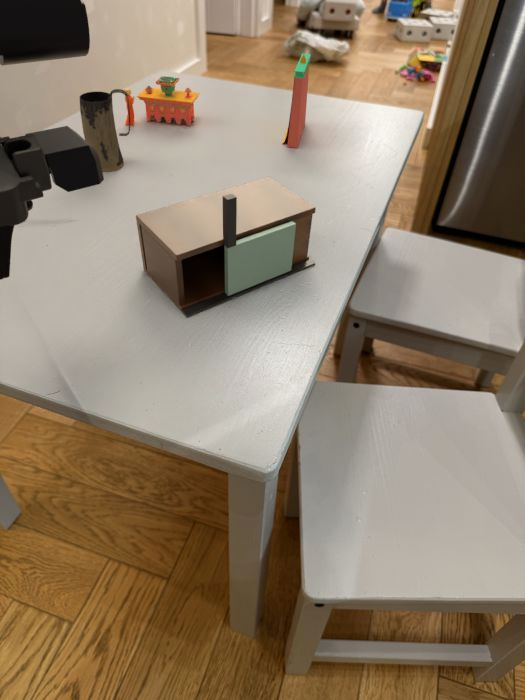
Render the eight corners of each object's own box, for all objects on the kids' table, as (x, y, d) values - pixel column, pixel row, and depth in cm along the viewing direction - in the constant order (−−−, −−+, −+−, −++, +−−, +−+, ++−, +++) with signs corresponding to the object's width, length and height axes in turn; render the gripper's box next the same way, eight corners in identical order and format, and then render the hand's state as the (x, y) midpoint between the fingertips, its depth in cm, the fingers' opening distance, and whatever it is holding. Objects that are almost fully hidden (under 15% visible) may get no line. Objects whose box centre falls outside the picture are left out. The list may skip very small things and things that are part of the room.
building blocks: (297, 148, 95) (305, 65, 85) (122, 127, 98) (109, 45, 88) (305, 123, 104) (312, 46, 94) (143, 105, 107) (134, 29, 97)
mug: (88, 171, 84) (72, 96, 76) (92, 157, 88) (77, 84, 80) (136, 171, 85) (125, 96, 77) (138, 157, 89) (128, 84, 80)
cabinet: (186, 317, 59) (182, 261, 53) (143, 270, 65) (135, 215, 60) (315, 264, 68) (322, 211, 62) (266, 227, 74) (269, 176, 68)
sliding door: (227, 297, 61) (227, 200, 52) (223, 292, 62) (222, 196, 53) (291, 270, 66) (301, 177, 57) (287, 267, 66) (296, 173, 57)
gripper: (-270, 153, 23) (-105, 381, 34) (116, 88, 31) (146, 288, 42) (-269, 82, 29) (-130, 294, 40) (52, 44, 37) (93, 228, 48)
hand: (3, 276), depth 42 cm, fingers closed
